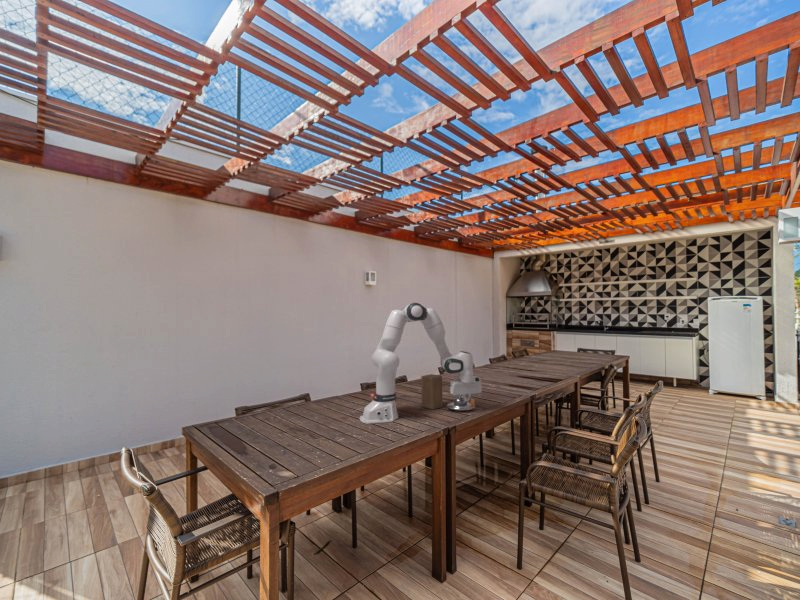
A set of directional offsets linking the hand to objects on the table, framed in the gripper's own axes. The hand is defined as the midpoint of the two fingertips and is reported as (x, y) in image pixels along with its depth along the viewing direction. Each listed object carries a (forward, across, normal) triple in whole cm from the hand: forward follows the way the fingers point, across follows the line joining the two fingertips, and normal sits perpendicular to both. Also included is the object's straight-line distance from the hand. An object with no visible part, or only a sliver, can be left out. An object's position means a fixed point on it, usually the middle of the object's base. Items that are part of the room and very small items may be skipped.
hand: (466, 401), depth 217 cm
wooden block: (+7, -13, +19) cm, 24 cm away
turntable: (+6, +1, +7) cm, 10 cm away
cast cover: (+3, 0, +7) cm, 8 cm away
